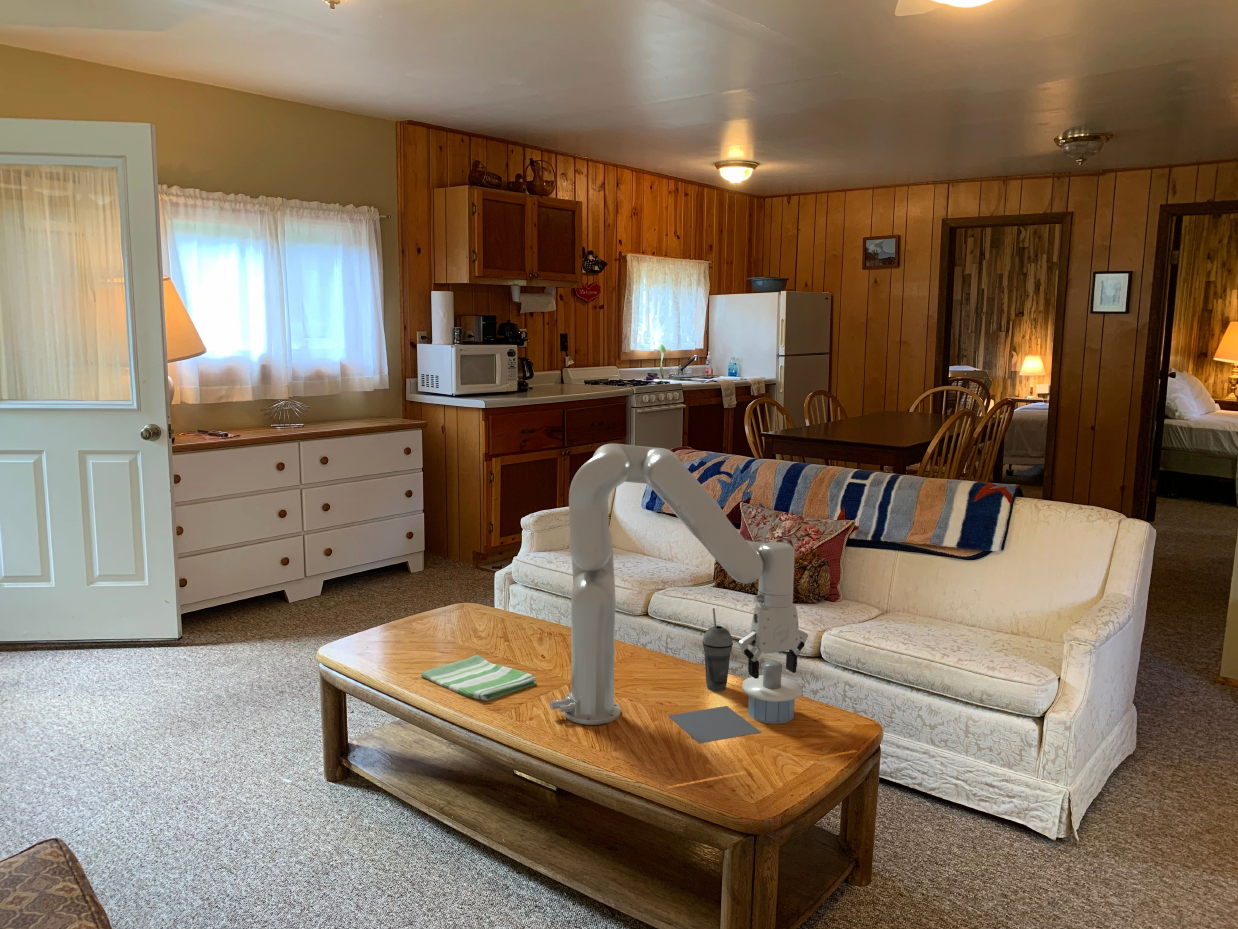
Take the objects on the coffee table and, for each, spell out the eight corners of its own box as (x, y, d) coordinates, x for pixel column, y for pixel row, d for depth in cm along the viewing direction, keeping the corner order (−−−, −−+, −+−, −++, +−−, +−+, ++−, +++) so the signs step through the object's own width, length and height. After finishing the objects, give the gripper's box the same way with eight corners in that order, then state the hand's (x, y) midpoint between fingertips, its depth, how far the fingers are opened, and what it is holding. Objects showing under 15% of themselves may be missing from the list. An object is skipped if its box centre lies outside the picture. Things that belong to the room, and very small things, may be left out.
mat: (698, 745, 192) (698, 743, 192) (667, 717, 206) (667, 715, 206) (761, 733, 198) (761, 732, 198) (726, 707, 212) (726, 705, 212)
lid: (762, 705, 198) (763, 678, 197) (731, 683, 210) (732, 658, 209) (813, 696, 203) (814, 670, 203) (780, 676, 215) (781, 651, 214)
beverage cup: (730, 696, 218) (732, 614, 215) (699, 693, 220) (701, 611, 217) (732, 685, 225) (735, 605, 223) (702, 682, 227) (705, 603, 224)
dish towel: (478, 661, 241) (478, 651, 240) (539, 685, 225) (539, 675, 224) (421, 679, 228) (420, 668, 227) (480, 706, 212) (480, 695, 211)
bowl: (763, 727, 201) (764, 701, 200) (740, 710, 210) (740, 685, 209) (802, 721, 205) (803, 695, 204) (777, 704, 214) (778, 679, 213)
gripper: (749, 607, 197) (747, 685, 200) (818, 599, 204) (814, 674, 206) (732, 598, 204) (729, 673, 206) (799, 590, 211) (796, 663, 213)
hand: (772, 673), depth 206 cm, fingers open, 9 cm apart
